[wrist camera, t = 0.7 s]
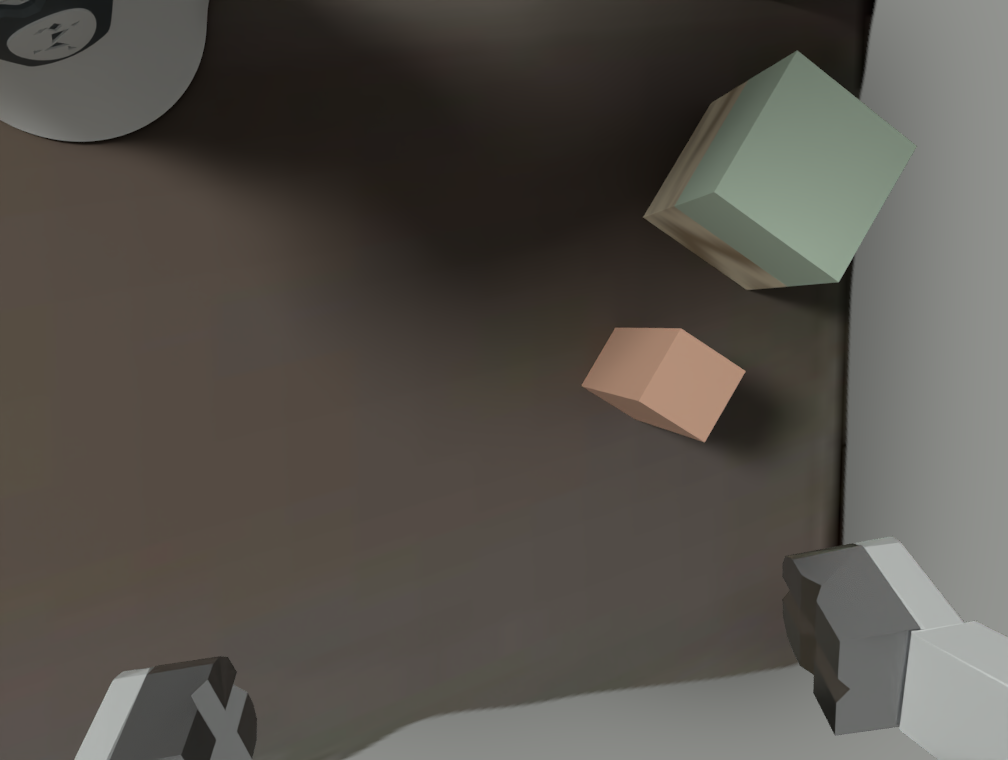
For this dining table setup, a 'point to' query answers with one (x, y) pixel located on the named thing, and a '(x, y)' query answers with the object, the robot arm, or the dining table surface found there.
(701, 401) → the rust block
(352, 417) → the dining table surface
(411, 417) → the dining table surface
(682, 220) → the beech block
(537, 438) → the dining table surface
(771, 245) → the green block
